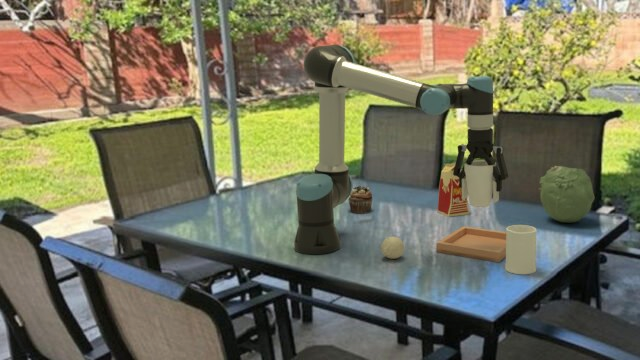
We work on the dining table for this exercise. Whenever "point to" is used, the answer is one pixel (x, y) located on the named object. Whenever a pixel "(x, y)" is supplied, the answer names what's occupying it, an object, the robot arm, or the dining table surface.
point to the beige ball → (392, 247)
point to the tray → (475, 244)
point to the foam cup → (479, 183)
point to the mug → (520, 249)
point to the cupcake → (360, 200)
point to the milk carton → (451, 194)
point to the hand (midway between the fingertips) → (480, 199)
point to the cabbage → (566, 193)
